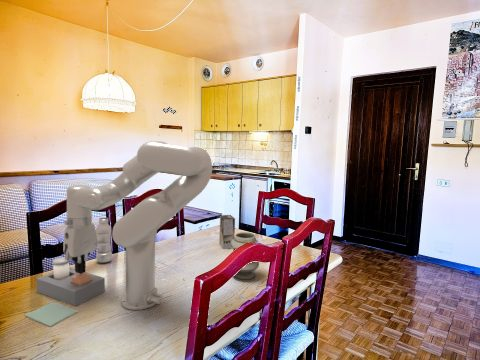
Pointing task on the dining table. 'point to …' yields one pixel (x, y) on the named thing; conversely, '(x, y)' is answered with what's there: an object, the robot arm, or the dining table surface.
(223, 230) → the coffee box
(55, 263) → the cylinder
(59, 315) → the mat
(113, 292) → the dining table surface
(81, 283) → the square push button
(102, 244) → the plastic bottle
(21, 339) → the dining table surface
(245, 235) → the apothecary jar
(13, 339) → the dining table surface
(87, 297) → the housing
